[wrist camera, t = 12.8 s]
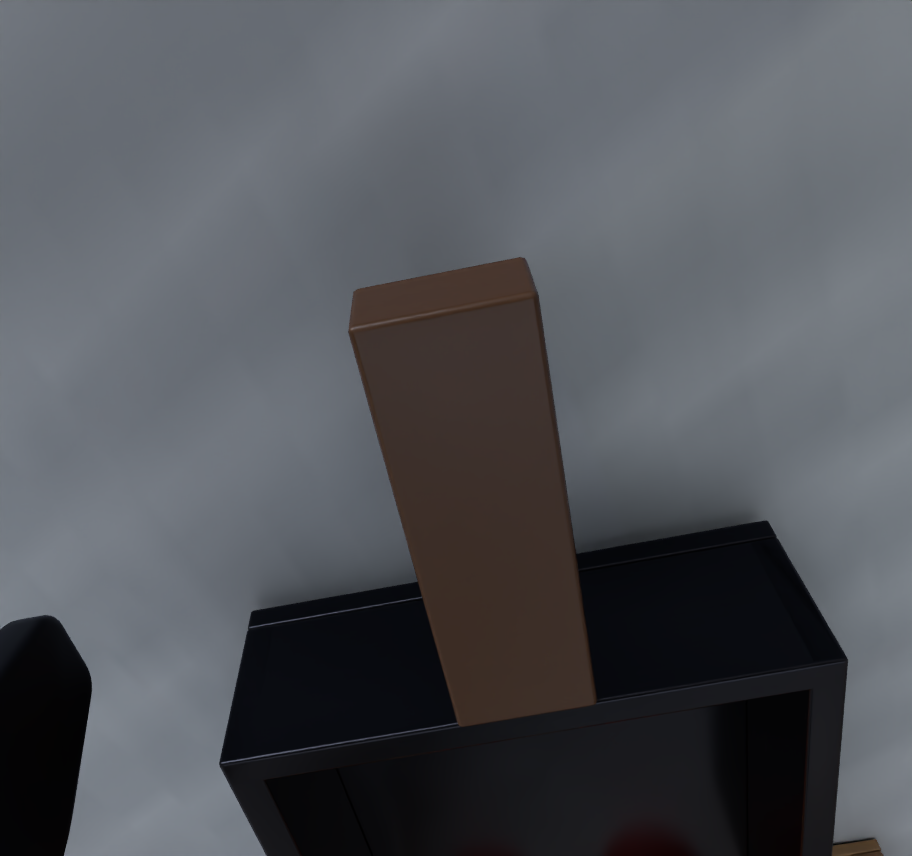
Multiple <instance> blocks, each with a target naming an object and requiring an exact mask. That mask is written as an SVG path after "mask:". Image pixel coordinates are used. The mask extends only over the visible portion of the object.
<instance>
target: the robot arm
mask: <svg viewBox="0 0 912 856" xmlns="http://www.w3.org/2000/svg"><path fill="white" fill-rule="evenodd" d="M91 693H92V682H91V676H90V673H89V670H88V668H87V666H86V664H85V662H84V661H83V659H82V657H81V656H80V654H79V652H78V651H77V649H76V647H75V646H74V644H73V642H72V641H71V639H70V637H69V636H68V634H67V632H66V631H65V629H64V627H63V626H62V624H61V623H60V621H59V620H57V619H56V618H55V617H53V616H48V615H43V616H37V617H32V618H26V619H21V620H16V621H13V622H10V623H8V624H7V625H5V626H4V627H3V628H2V629H1V630H0V856H64V852H65V848H66V844H67V840H68V836H69V831H70V825H71V820H72V815H73V809H74V803H75V796H76V790H77V784H78V777H79V771H80V764H81V758H82V752H83V745H84V739H85V733H86V726H87V720H88V713H89V707H90V701H91Z"/></svg>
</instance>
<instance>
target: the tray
mask: <svg viewBox="0 0 912 856" xmlns="http://www.w3.org/2000/svg"><path fill="white" fill-rule="evenodd" d="M832 856H883V854H882V853H881V848H880V846H879V844H878V842H877V840H876V839H872V840H866V841H859V842H853V843H847V844H840V845H834V846H833V850H832Z"/></svg>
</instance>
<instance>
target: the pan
mask: <svg viewBox="0 0 912 856" xmlns="http://www.w3.org/2000/svg"><path fill="white" fill-rule="evenodd" d="M348 333H349V336H350V340H351V344H352V347H353V351H354V354H355V358H356V362H357V365H358V369H359V372H360V376H361V379H362V383H363V387H364V390H365V394H366V397H367V401H368V405H369V408H370V412H371V415H372V419H373V422H374V426H375V430H376V433H377V437H378V440H379V444H380V447H381V451H382V455H383V458H384V462H385V465H386V469H387V473H388V476H389V480H390V483H391V487H392V490H393V494H394V498H395V501H396V505H397V508H398V512H399V516H400V519H401V523H402V526H403V530H404V533H405V537H406V541H407V544H408V548H409V551H410V555H411V559H412V562H413V566H414V569H415V573H416V576H417V580H418V582H414V583H408V584H403V585H397V586H391V587H386V588H380V589H374V590H369V591H363V592H357V593H352V594H346V595H340V596H335V597H329V598H323V599H318V600H312V601H306V602H301V603H295V604H289V605H284V606H278V607H272V608H267V609H261V610H255V611H252V612H251V616H250V621H249V626H248V631H247V635H246V640H245V645H244V649H243V654H242V659H241V664H240V668H239V673H238V678H237V682H236V687H235V692H234V697H233V701H232V706H231V711H230V715H229V720H228V725H227V729H226V734H225V739H224V744H223V748H222V753H221V758H220V762H219V765H220V768H221V769H222V771H223V773H224V775H225V777H226V779H227V781H228V783H229V785H230V787H231V789H232V790H233V792H234V794H235V796H236V798H237V800H238V802H239V804H240V806H241V808H242V810H243V812H244V813H245V815H246V817H247V819H248V821H249V823H250V825H251V827H252V829H253V831H254V833H255V834H256V836H257V838H258V840H259V842H260V844H261V846H262V848H263V850H264V852H265V854H266V856H832V850H833V837H834V825H835V813H836V801H837V789H838V776H839V764H840V752H841V740H842V728H843V715H844V703H845V691H846V679H847V666H848V659H847V657H846V655H845V653H844V652H843V650H842V648H841V647H840V645H839V643H838V641H837V640H836V638H835V636H834V635H833V633H832V631H831V629H830V628H829V626H828V624H827V623H826V621H825V619H824V617H823V616H822V614H821V612H820V610H819V609H818V607H817V605H816V604H815V602H814V600H813V598H812V597H811V595H810V593H809V592H808V590H807V588H806V586H805V585H804V583H803V581H802V580H801V578H800V576H799V574H798V573H797V571H796V569H795V568H794V566H793V564H792V562H791V561H790V559H789V557H788V556H787V554H786V552H785V550H784V549H783V547H782V545H781V544H780V542H779V540H778V539H777V538H776V534H775V533H774V531H773V529H772V528H771V526H770V524H769V522H768V521H760V522H754V523H748V524H743V525H737V526H731V527H726V528H720V529H714V530H709V531H703V532H697V533H692V534H686V535H680V536H675V537H669V538H663V539H658V540H652V541H646V542H641V543H635V544H629V545H624V546H618V547H612V548H607V549H601V550H595V551H590V552H584V553H578V554H576V550H575V543H574V537H573V530H572V523H571V516H570V509H569V502H568V495H567V488H566V481H565V474H564V468H563V461H562V454H561V447H560V440H559V433H558V426H557V419H556V412H555V406H554V399H553V392H552V385H551V378H550V371H549V364H548V357H547V350H546V344H545V337H544V330H543V323H542V316H541V309H540V302H539V295H538V292H537V289H536V286H535V284H534V281H533V278H532V275H531V272H530V269H529V266H528V263H527V261H526V259H525V258H521V257H519V258H514V259H508V260H503V261H498V262H493V263H488V264H483V265H478V266H473V267H468V268H462V269H457V270H452V271H447V272H442V273H437V274H432V275H427V276H422V277H416V278H411V279H406V280H401V281H396V282H391V283H386V284H381V285H376V286H370V287H365V288H360V289H357V290H355V291H354V292H353V299H352V307H351V315H350V323H349V331H348Z"/></svg>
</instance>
